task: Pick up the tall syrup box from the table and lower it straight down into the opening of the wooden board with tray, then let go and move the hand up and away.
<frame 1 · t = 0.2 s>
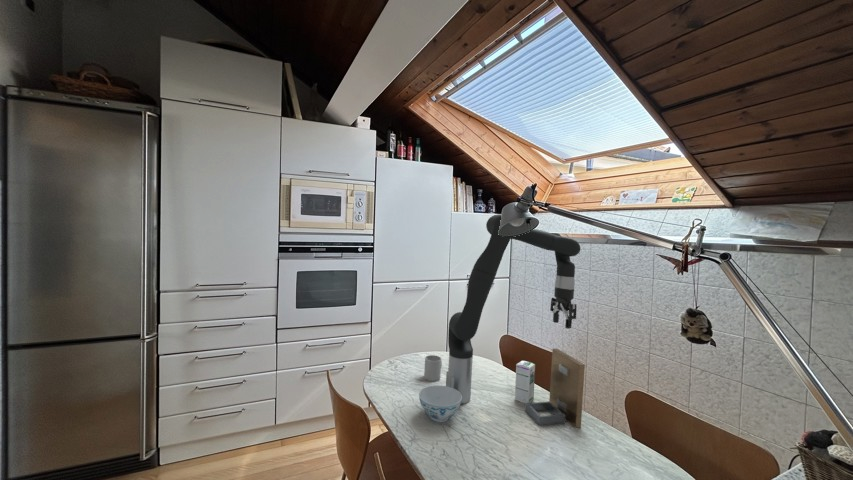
hand: (561, 325, 142), 29 cm above the table, tool pointing down, fingers open, 8 cm apart
cup: (434, 377, 152), on the table
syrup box: (523, 400, 135), on the table
wooden board with tray: (544, 417, 123), on the table
chinaware: (439, 417, 119), on the table
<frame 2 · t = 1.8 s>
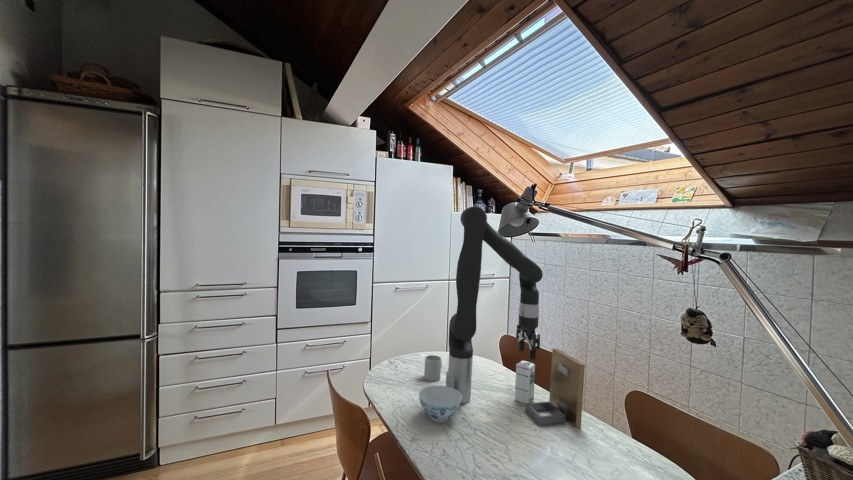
hand: (526, 355, 135), 18 cm above the table, tool pointing down, fingers open, 8 cm apart
nothing on the table moved.
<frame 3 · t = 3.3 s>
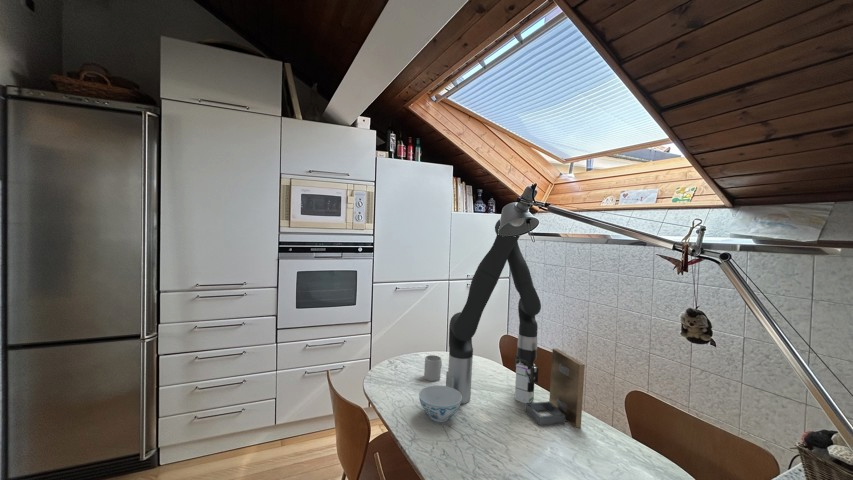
hand: (525, 386, 135), 5 cm above the table, tool pointing down, fingers closed on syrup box, 8 cm apart
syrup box: (523, 400, 135), on the table, touching gripper
everything else where it was.
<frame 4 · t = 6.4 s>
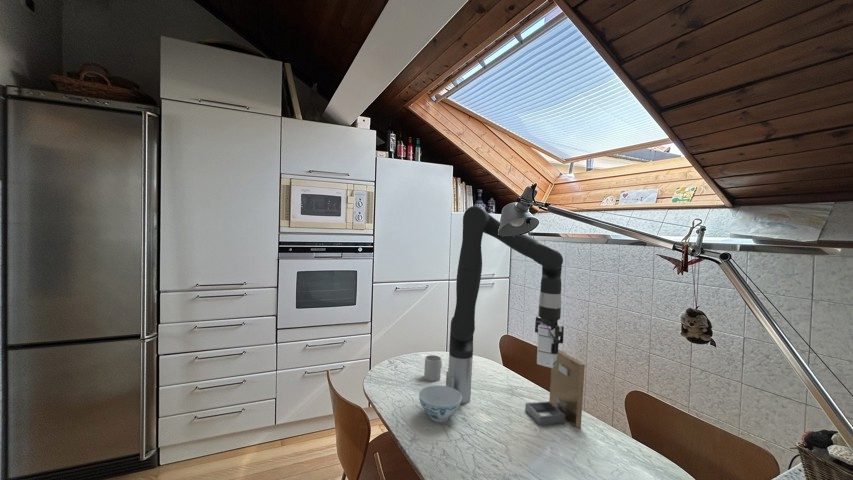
hand: (547, 349, 123), 24 cm above the table, tool pointing down, fingers closed on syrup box, 8 cm apart
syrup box: (546, 364, 123), point 19 cm above the table, touching gripper
everything else where it was.
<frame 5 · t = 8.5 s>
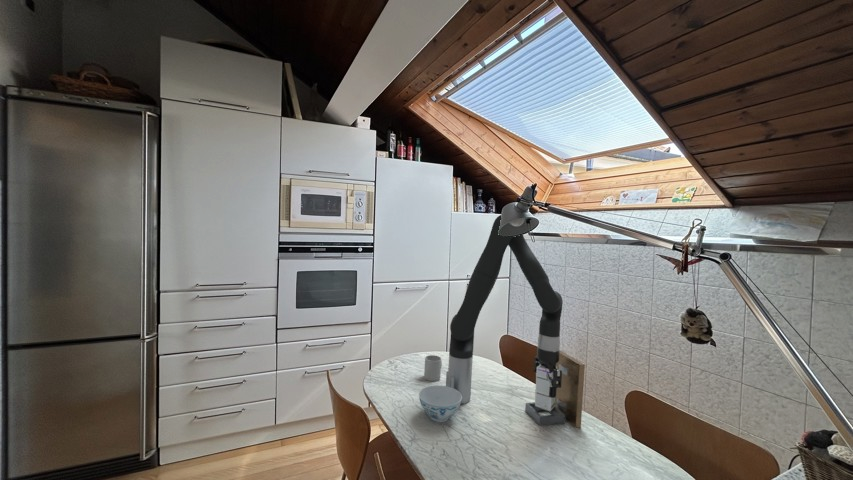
hand: (545, 391, 122), 9 cm above the table, tool pointing down, fingers closed on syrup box, 8 cm apart
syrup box: (544, 406, 123), point 4 cm above the table, touching gripper
everything else where it was.
when the fingers open (6 cm above the table, at t = 9.7 s): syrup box drops 1 cm, resting in wooden board with tray.
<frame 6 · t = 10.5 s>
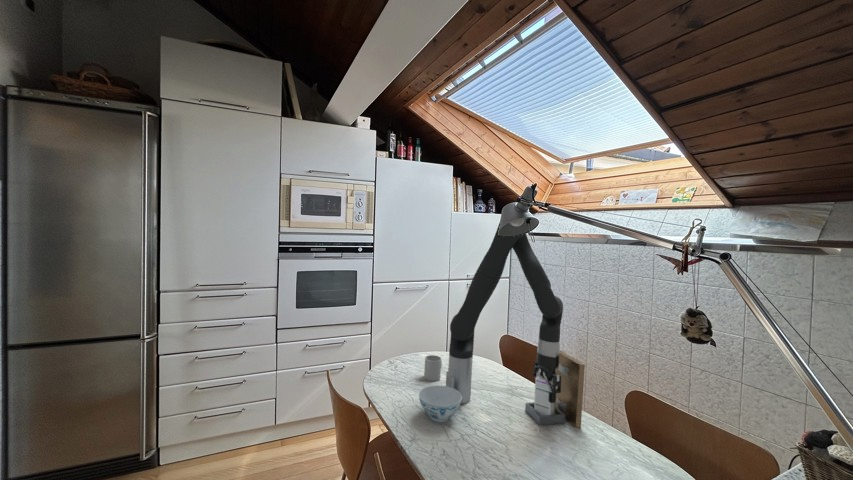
hand: (545, 396, 122), 8 cm above the table, tool pointing down, fingers open, 8 cm apart
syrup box: (543, 417, 123), resting in wooden board with tray, touching gripper
everything else where it was.
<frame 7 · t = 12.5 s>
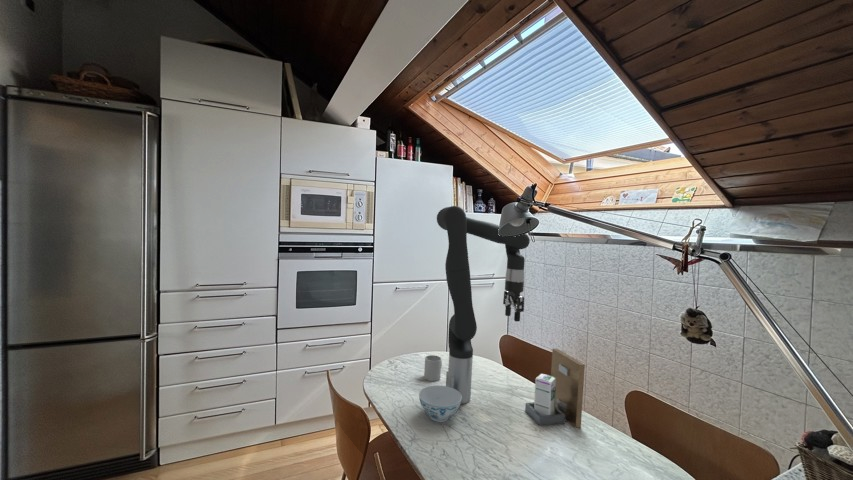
hand: (512, 318, 142), 30 cm above the table, tool pointing down, fingers open, 8 cm apart
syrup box: (543, 417, 123), resting in wooden board with tray
everything else where it was.
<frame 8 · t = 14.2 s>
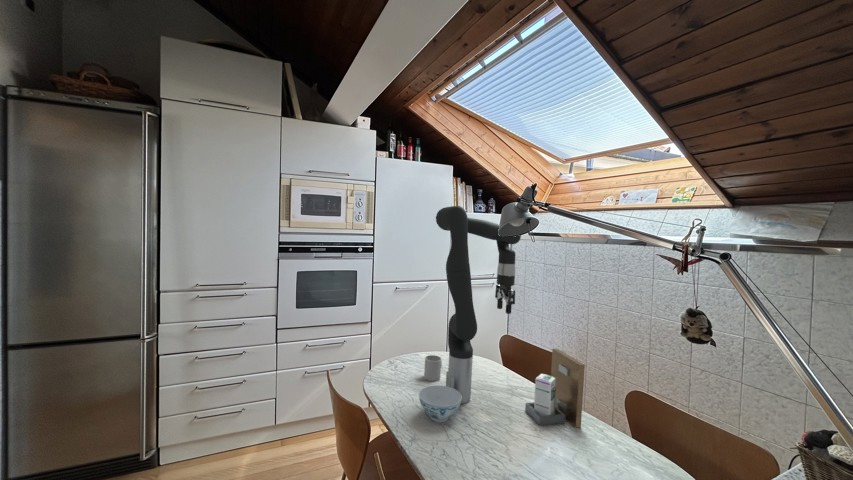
hand: (503, 311, 147), 32 cm above the table, tool pointing down, fingers open, 8 cm apart
nothing on the table moved.
at the end: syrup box 0.1 cm off-centre on the wooden board with tray, point 0.0 cm above the wooden board with tray's base; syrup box tilted 0°; the gripper is holding nothing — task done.
